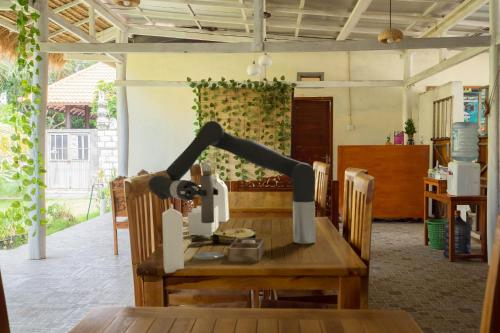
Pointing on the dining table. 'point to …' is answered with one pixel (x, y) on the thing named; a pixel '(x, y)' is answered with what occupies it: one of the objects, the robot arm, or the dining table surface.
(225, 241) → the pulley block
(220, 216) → the milk
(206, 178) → the pepper mill
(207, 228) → the storage container
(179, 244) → the milk
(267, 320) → the dining table surface
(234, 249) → the caddy
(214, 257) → the disc
